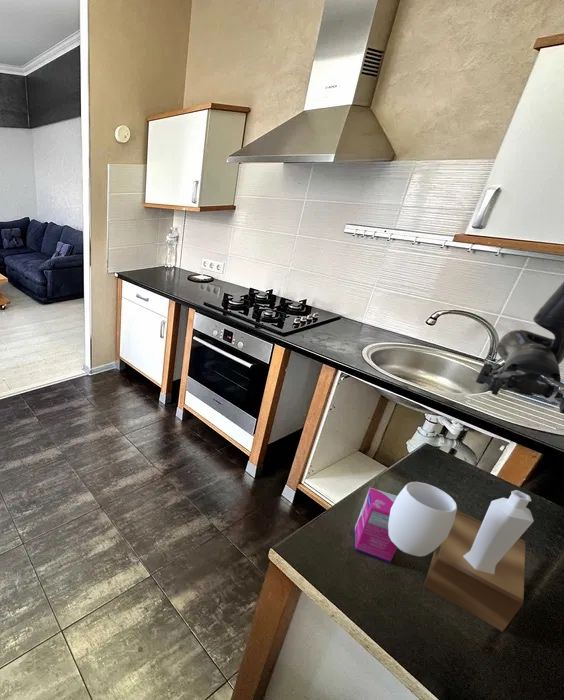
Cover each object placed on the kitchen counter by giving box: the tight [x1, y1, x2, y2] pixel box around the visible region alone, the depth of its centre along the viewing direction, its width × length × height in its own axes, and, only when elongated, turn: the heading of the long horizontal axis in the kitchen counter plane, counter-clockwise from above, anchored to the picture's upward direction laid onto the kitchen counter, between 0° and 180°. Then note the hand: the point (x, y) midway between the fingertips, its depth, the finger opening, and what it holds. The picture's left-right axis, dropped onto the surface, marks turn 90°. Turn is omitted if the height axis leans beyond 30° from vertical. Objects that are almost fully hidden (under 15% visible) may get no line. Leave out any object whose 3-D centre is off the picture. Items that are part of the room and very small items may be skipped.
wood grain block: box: [423, 510, 527, 633], centre depth 66 cm, size 16×10×7 cm, turn 133°
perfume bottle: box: [463, 489, 535, 574], centre depth 59 cm, size 5×4×15 cm
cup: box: [388, 481, 458, 558], centre depth 62 cm, size 7×7×21 cm
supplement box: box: [353, 487, 398, 564], centre depth 71 cm, size 6×6×12 cm
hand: (530, 399), depth 66 cm, fingers open, 8 cm apart
